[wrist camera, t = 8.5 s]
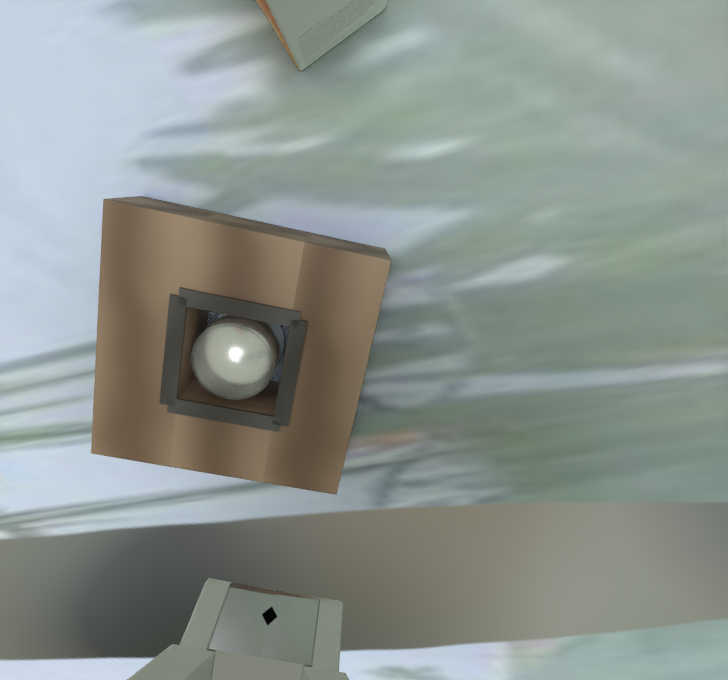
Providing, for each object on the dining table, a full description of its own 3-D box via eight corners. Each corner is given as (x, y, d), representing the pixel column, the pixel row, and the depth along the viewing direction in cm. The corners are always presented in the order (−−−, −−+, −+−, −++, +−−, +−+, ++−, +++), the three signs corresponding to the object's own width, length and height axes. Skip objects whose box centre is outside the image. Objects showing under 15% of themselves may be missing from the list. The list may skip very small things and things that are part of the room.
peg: (289, 312, 33) (280, 332, 29) (277, 378, 35) (267, 407, 30) (216, 297, 33) (195, 315, 28) (207, 365, 34) (186, 392, 30)
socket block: (385, 248, 32) (391, 261, 27) (338, 454, 37) (336, 496, 32) (141, 196, 31) (101, 199, 26) (125, 417, 36) (89, 455, 31)
